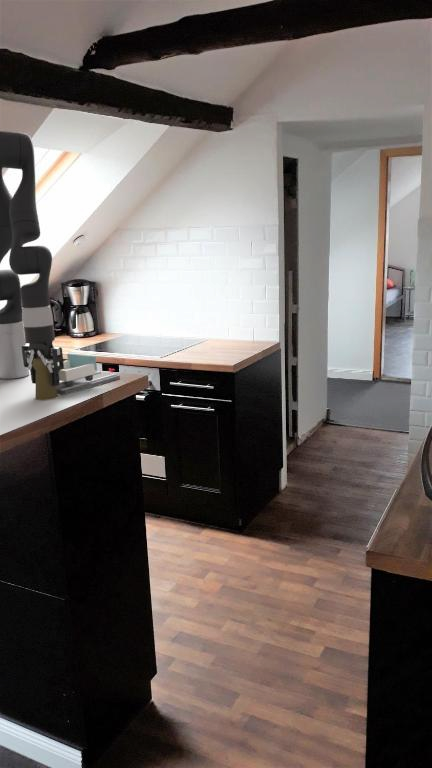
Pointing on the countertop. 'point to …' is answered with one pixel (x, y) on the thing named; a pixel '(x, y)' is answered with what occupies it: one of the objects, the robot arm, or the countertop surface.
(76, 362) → the cart
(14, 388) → the countertop surface
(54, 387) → the olive green pepper mill
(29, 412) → the countertop surface
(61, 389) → the rail board
